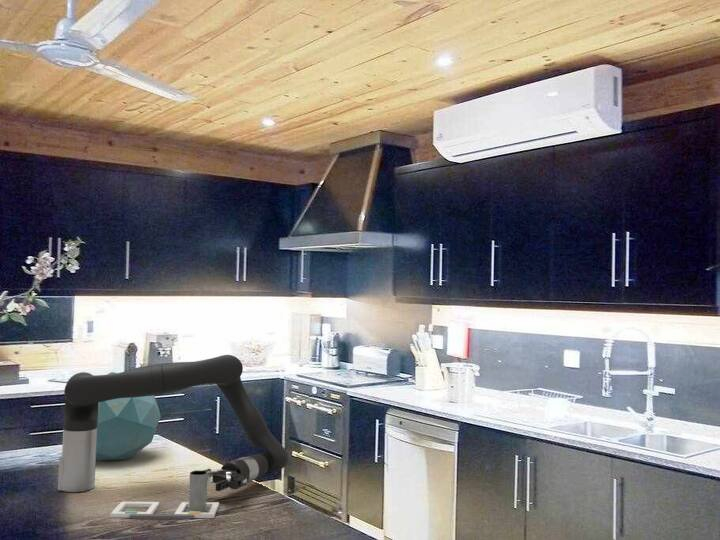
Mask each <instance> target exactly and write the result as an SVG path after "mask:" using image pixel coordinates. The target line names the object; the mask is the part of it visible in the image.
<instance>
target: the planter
mask: <svg viewBox="0 0 720 540" xmlns="http://www.w3.org/2000/svg"><path fill="white" fill-rule="evenodd" d="M207 474H208V473H207V471H203V470H201V469H200V470H193V471H190V472H189V485H188V487H189V489H188V490H189V491H188V502H189V508H188V512H189V511H201V512H207V508H206V502H207V498H208V497H207V496H208V484H207Z"/></svg>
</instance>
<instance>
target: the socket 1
mask: <svg viewBox="0 0 720 540" xmlns="http://www.w3.org/2000/svg"><path fill="white" fill-rule="evenodd" d="M159 507H160V501H121V502H120V503H119V504H118V505H117V506H116V507H115V508H114V509H113V510H112V512H110V514H109V515H110V518H114V519H115V518H126V519H129V516H130V515H154V513H156V511H157V510H158V508H159ZM126 508H148V509H147V510H146V511H138V510H126V511H124V510H125V509H126Z"/></svg>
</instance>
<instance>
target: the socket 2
mask: <svg viewBox="0 0 720 540" xmlns="http://www.w3.org/2000/svg"><path fill="white" fill-rule="evenodd" d="M219 507H220V502H218V501H217V502H214V501H213V502H212V501H211V502H210V501H209V502H207V501H206V509H209V511H206V512H201V511H189V510H188V511H185V510H186V509H189V501H182V502H181V503H180V505H179V506H178V508H177V509H176V510H175V512H174V514H173V515H194V519H214V518H215V516H216V514H217V512H218V509H219Z"/></svg>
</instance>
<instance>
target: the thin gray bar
mask: <svg viewBox="0 0 720 540" xmlns="http://www.w3.org/2000/svg"><path fill="white" fill-rule="evenodd" d="M128 519H129V520H194V519H195V518H194V515H174V514H153V515H130V516H129V518H128Z"/></svg>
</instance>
